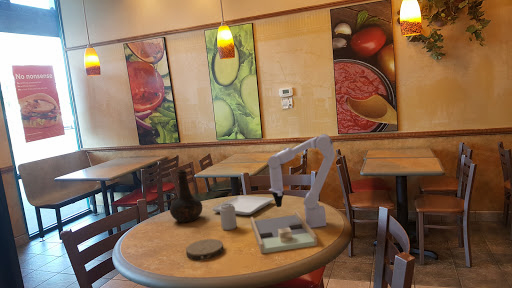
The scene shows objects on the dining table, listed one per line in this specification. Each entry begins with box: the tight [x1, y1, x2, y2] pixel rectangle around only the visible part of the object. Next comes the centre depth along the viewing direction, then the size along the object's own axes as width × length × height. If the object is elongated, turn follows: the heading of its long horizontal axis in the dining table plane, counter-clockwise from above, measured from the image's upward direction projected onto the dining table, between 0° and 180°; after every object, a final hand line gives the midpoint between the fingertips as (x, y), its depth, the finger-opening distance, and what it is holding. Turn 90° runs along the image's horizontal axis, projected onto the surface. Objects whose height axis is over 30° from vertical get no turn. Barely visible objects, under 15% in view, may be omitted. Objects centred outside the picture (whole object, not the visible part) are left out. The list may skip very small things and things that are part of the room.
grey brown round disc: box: [185, 238, 225, 261], centre depth 166 cm, size 16×16×3 cm
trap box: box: [249, 210, 318, 254], centre depth 177 cm, size 24×36×4 cm, turn 7°
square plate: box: [211, 195, 275, 216], centre depth 223 cm, size 27×27×4 cm
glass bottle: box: [169, 169, 203, 223], centre depth 211 cm, size 18×18×28 cm
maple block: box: [278, 228, 292, 242], centre depth 166 cm, size 5×5×4 cm
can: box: [219, 204, 238, 231], centre depth 192 cm, size 8×8×12 cm
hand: (278, 206), depth 188 cm, fingers closed
